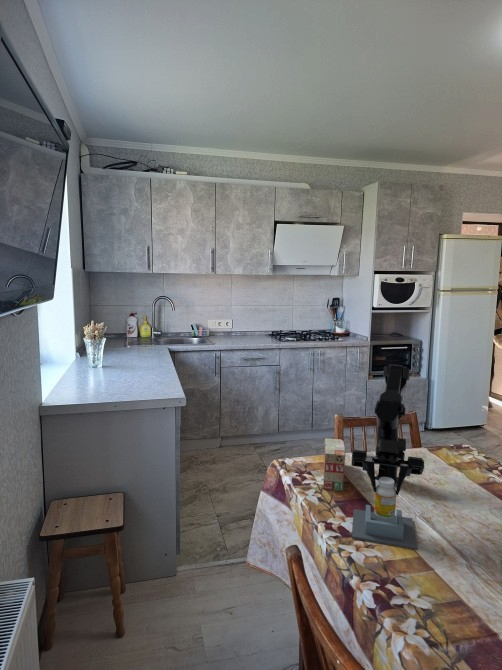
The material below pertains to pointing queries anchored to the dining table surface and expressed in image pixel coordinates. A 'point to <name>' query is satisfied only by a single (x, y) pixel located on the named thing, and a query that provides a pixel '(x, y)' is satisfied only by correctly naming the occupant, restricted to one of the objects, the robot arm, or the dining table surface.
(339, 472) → the stack of blocks
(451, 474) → the dining table surface
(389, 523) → the notch holder
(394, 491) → the supplement bottle
